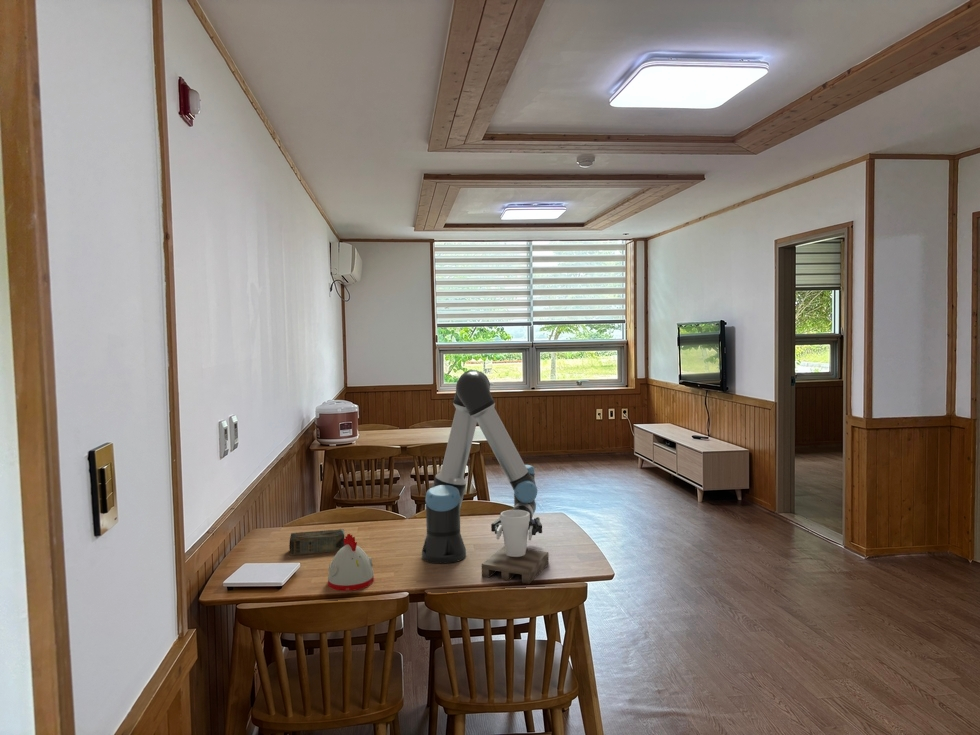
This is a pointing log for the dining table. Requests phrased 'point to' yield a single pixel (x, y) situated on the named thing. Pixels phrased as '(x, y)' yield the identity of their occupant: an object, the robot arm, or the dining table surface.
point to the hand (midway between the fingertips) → (513, 535)
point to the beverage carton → (316, 542)
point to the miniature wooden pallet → (516, 565)
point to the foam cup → (515, 531)
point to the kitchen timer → (350, 567)
